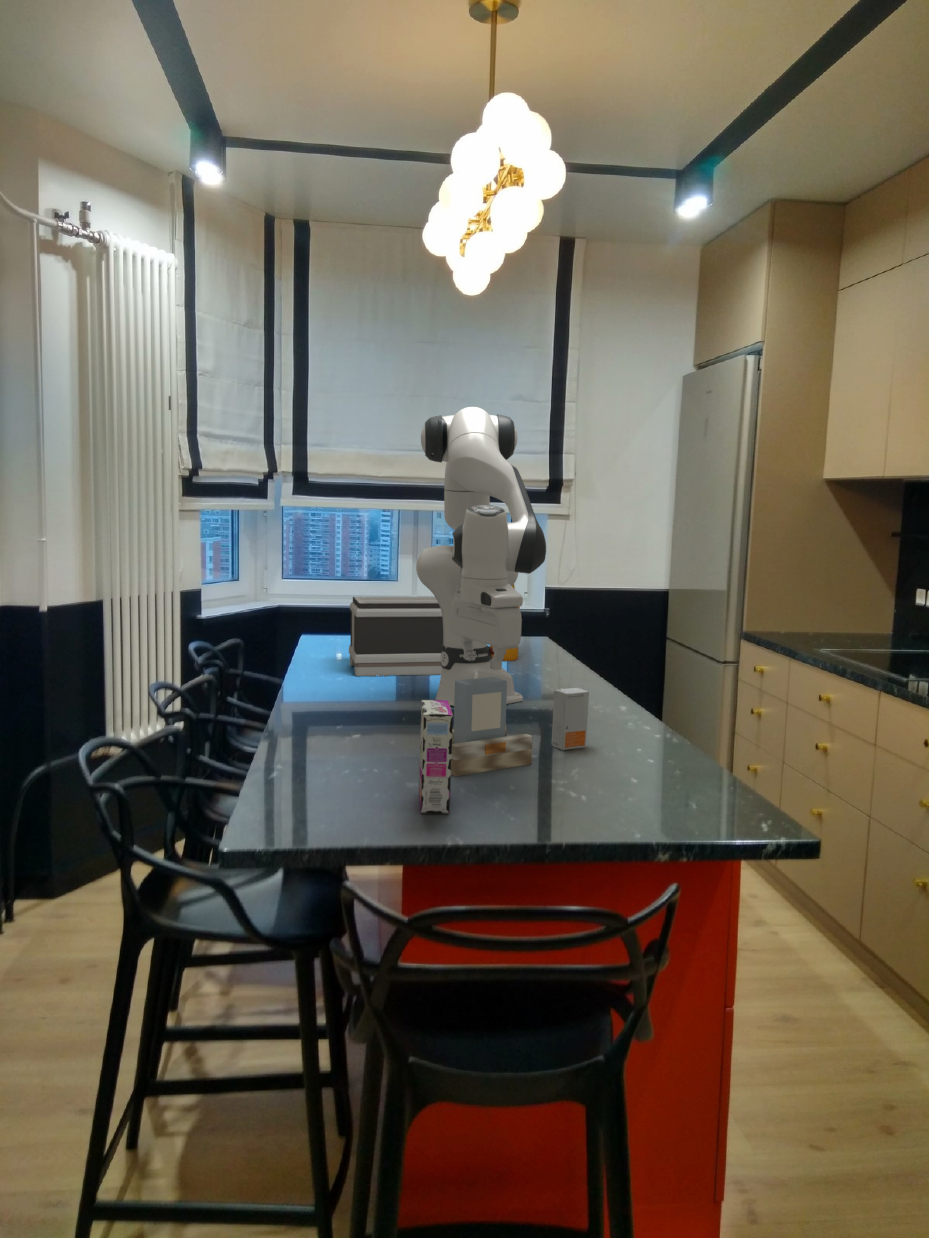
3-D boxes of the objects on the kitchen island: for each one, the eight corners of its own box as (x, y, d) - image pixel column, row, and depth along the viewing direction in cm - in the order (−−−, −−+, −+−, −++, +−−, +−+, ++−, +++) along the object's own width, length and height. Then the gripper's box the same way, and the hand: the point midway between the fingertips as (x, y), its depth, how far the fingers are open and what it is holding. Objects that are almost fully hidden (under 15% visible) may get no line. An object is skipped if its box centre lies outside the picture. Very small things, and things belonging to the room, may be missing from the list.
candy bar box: (451, 814, 138) (454, 714, 136) (420, 814, 138) (422, 714, 135) (447, 791, 149) (449, 698, 147) (418, 791, 149) (420, 698, 146)
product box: (453, 746, 166) (454, 680, 164) (492, 741, 170) (494, 676, 168) (465, 752, 162) (467, 685, 160) (505, 747, 166) (507, 681, 164)
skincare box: (562, 751, 175) (565, 693, 174) (551, 745, 179) (553, 689, 177) (587, 747, 178) (589, 691, 176) (575, 742, 182) (577, 687, 180)
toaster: (472, 675, 251) (474, 603, 248) (354, 677, 243) (355, 603, 240) (458, 663, 269) (459, 596, 266) (348, 665, 261) (348, 596, 258)
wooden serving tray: (500, 749, 175) (501, 723, 174) (532, 764, 166) (533, 736, 165) (426, 760, 167) (427, 732, 166) (455, 776, 157) (456, 747, 156)
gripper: (442, 587, 169) (441, 656, 171) (499, 599, 152) (496, 676, 154) (470, 585, 172) (468, 653, 174) (528, 598, 155) (526, 673, 157)
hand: (482, 664), depth 164 cm, fingers open, 8 cm apart
